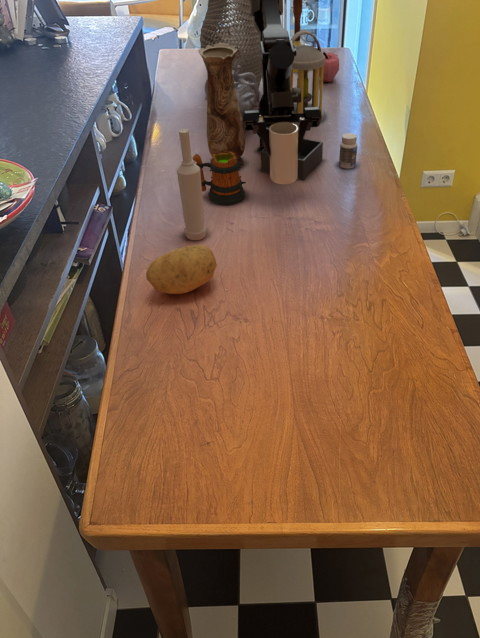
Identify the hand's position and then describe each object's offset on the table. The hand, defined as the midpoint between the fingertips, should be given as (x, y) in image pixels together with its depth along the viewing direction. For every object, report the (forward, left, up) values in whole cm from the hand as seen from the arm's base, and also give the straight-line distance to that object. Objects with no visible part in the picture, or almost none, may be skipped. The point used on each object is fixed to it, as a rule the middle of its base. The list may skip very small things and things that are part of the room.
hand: (284, 154), depth 145 cm
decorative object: (-65, +87, -13) cm, 109 cm away
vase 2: (-25, +14, -13) cm, 31 cm away
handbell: (-42, +97, -13) cm, 106 cm away
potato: (-4, -41, -13) cm, 43 cm away
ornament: (-34, +37, -13) cm, 52 cm away
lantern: (-20, +54, -13) cm, 59 cm away
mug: (-17, -3, -13) cm, 22 cm away
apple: (-26, +88, -13) cm, 93 cm away
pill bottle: (+6, +28, -13) cm, 32 cm away
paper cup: (-1, +1, -7) cm, 7 cm away
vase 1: (-48, +61, -13) cm, 79 cm away
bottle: (-13, -22, -13) cm, 29 cm away
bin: (-8, +21, -13) cm, 26 cm away
